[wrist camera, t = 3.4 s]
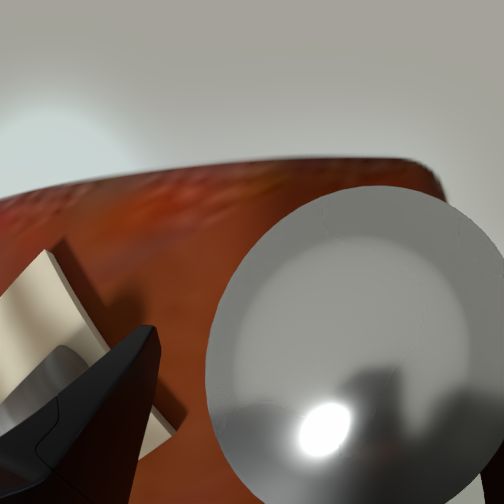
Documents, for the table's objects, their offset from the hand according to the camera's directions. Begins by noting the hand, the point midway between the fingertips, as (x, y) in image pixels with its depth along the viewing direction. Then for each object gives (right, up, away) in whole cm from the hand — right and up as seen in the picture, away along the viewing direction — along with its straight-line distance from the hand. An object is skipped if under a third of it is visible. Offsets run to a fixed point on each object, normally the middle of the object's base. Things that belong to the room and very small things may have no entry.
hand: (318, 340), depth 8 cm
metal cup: (0, -3, +7) cm, 8 cm away
